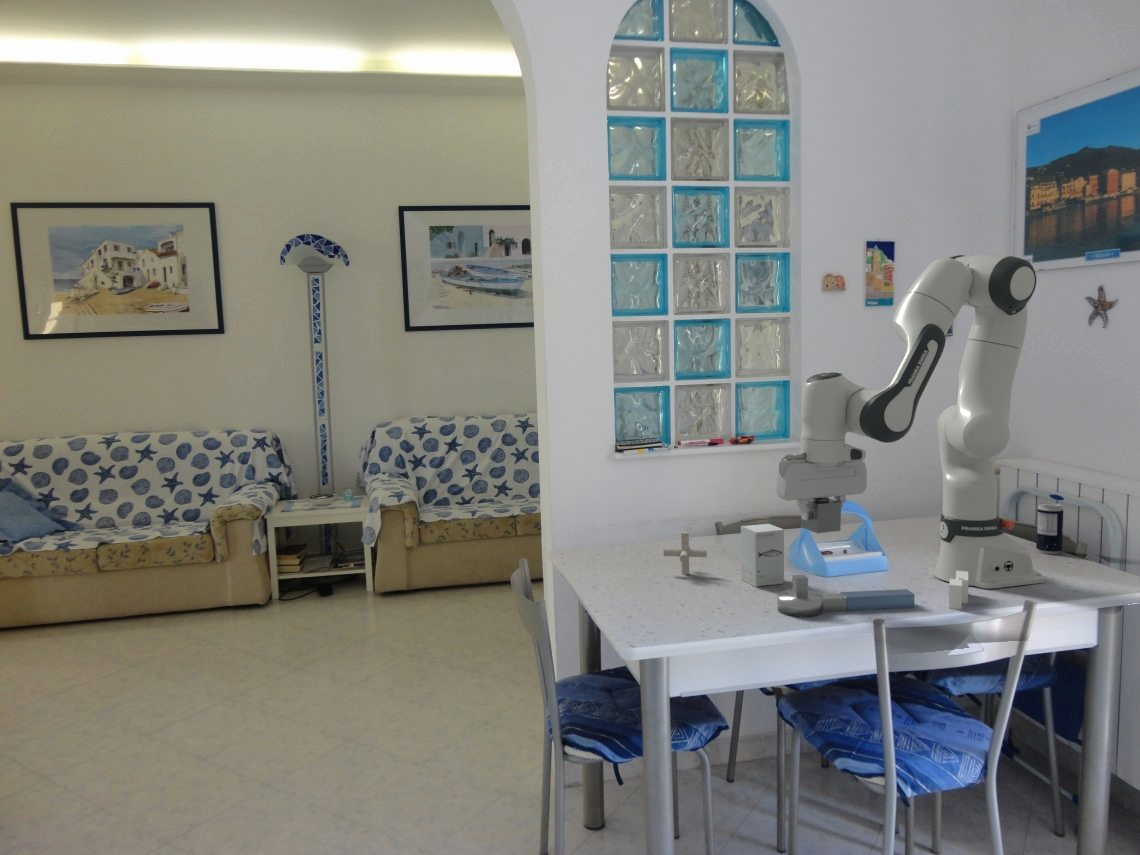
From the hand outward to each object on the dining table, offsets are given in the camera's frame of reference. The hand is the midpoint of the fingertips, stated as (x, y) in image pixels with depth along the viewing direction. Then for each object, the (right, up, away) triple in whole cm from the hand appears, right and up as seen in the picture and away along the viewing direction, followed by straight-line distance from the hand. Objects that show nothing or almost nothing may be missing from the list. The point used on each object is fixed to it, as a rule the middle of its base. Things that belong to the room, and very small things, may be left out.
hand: (820, 518), depth 181 cm
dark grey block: (0, -2, 0) cm, 2 cm away
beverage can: (+67, -12, +36) cm, 77 cm away
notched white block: (+28, -18, 0) cm, 33 cm away
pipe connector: (-25, -16, +26) cm, 39 cm away
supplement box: (-8, -17, +18) cm, 26 cm away
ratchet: (+4, -18, -2) cm, 19 cm away
